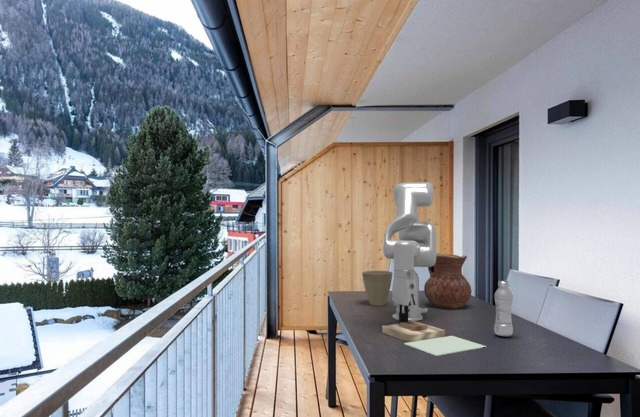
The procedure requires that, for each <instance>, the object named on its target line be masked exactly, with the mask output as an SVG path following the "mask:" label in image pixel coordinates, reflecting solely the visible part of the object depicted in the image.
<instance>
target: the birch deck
mask: <svg viewBox="0 0 640 417" xmlns="http://www.w3.org/2000/svg"><path fill="white" fill-rule="evenodd" d="M417 322H418V323H420V322H419V321H417ZM424 324H425V323H424ZM425 325H427V329H426V330H419V331H412V330H409V329H406V328H403V327H400V323H394V324H386V325H382V326H381V327H382V329H381V330H382V333H383V334H385V335H388V336H390V337H393V338H397V339H399V340H402V341H404V342H406V343H408V342H415V341H421V340H427V339H434V338H440V337H446V332H445V331H446V330H445V329H441V328H438V327H435V326H433V325H428V324H425Z"/></svg>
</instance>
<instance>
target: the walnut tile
mask: <svg viewBox="0 0 640 417" xmlns="http://www.w3.org/2000/svg"><path fill="white" fill-rule="evenodd" d="M418 322H419V321H408V322H402V323H399V324H400V327H403V328H406V329H409V330H412V331H419V330H426V329H427V325H428V324H426V325H425V323H422V322H419V323H418Z"/></svg>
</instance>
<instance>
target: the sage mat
mask: <svg viewBox="0 0 640 417" xmlns="http://www.w3.org/2000/svg"><path fill="white" fill-rule="evenodd" d="M403 345H405V346H408V347H411V348H413V349H416V350H419V351H421V352H424V353H427V354H428V355H431V356H434V357H439V356H445V355H450V354H456V353H461V352H468V351H473V350H478V349H484V348H483V347H485V348H487V346H486V345H484V344H481V343H477V342H473V341H471V340H468V339H464V338H461V337H458V336H455V335H448V336H445V337H440V338H434V339H427V340H421V341H415V342H404V343H403Z"/></svg>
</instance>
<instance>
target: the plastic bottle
mask: <svg viewBox="0 0 640 417" xmlns="http://www.w3.org/2000/svg"><path fill="white" fill-rule="evenodd" d="M497 286H498V288H497V289H496V291H495V292H494V296H493V297H494V304H495V322H494V326H493V331H494V333H495V335H497V336H499V337H502V336H503V338H504V337H511V336H512V335H513V332H514V327H513V322H512V308H513V307H512V306H513V299H514V296H513V293H512V291H511V289H509V287H510V282H509V281H508V280H498V283H497Z"/></svg>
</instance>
